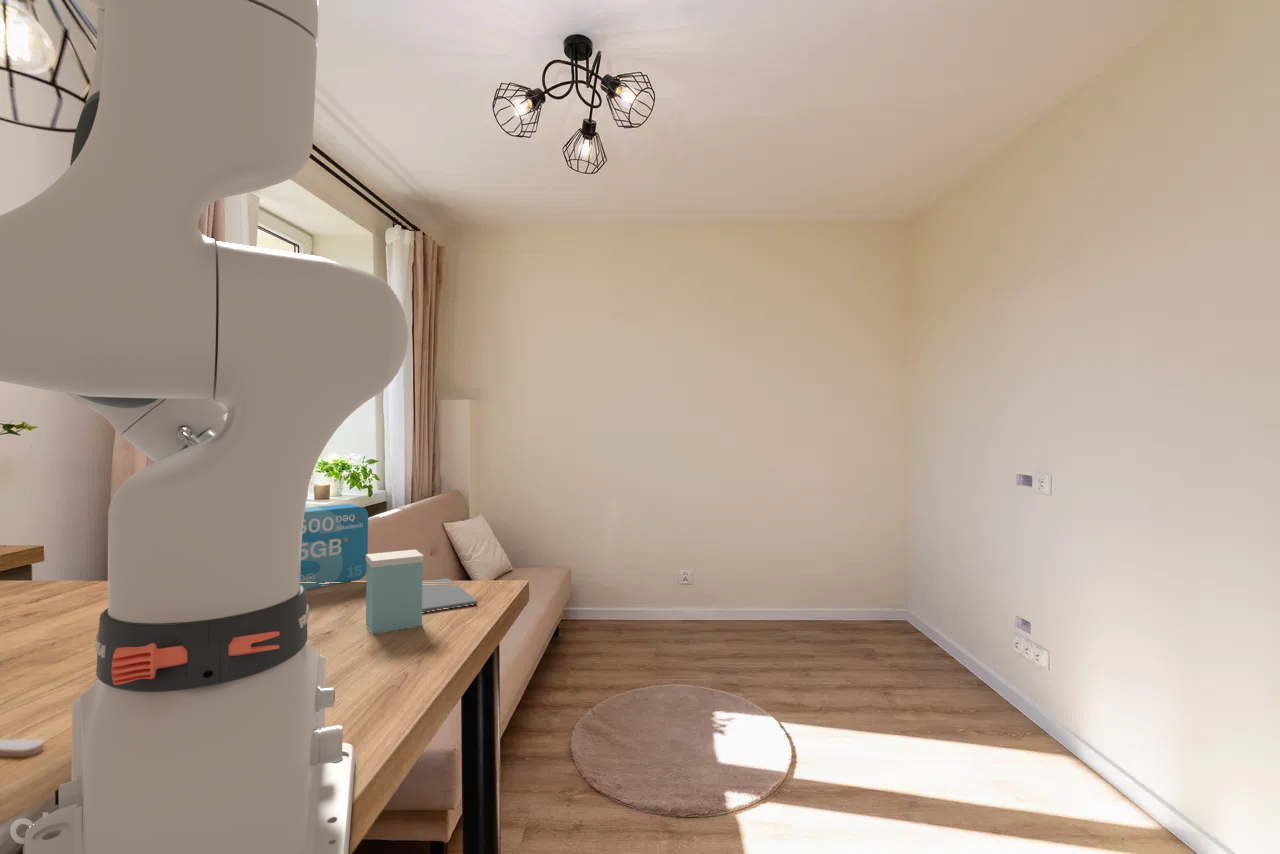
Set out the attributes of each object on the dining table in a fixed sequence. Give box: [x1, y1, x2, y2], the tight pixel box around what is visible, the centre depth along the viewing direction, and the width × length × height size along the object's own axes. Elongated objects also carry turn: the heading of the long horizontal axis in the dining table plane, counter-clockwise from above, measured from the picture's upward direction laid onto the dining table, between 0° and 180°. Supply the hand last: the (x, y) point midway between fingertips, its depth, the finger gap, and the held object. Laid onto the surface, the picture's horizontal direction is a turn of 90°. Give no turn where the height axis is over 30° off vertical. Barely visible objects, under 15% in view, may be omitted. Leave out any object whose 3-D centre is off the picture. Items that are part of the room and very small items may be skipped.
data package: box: [300, 503, 369, 591], centre depth 99 cm, size 12×4×12 cm, turn 139°
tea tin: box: [365, 549, 425, 634], centre depth 80 cm, size 4×6×9 cm
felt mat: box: [422, 577, 478, 613], centre depth 92 cm, size 14×12×1 cm
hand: (285, 510), depth 73 cm, fingers open, 8 cm apart
